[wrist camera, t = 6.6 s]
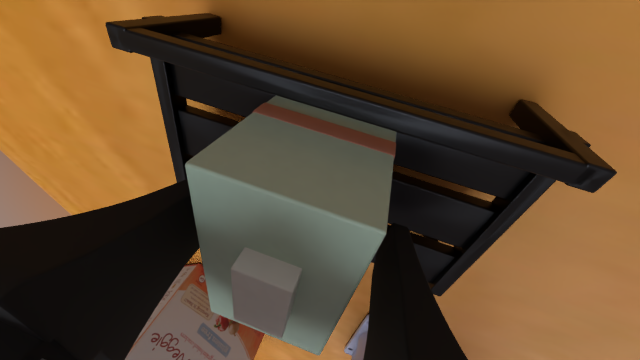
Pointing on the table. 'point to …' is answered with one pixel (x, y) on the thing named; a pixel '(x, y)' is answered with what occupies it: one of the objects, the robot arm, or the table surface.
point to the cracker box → (192, 326)
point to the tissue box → (291, 217)
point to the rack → (381, 110)
